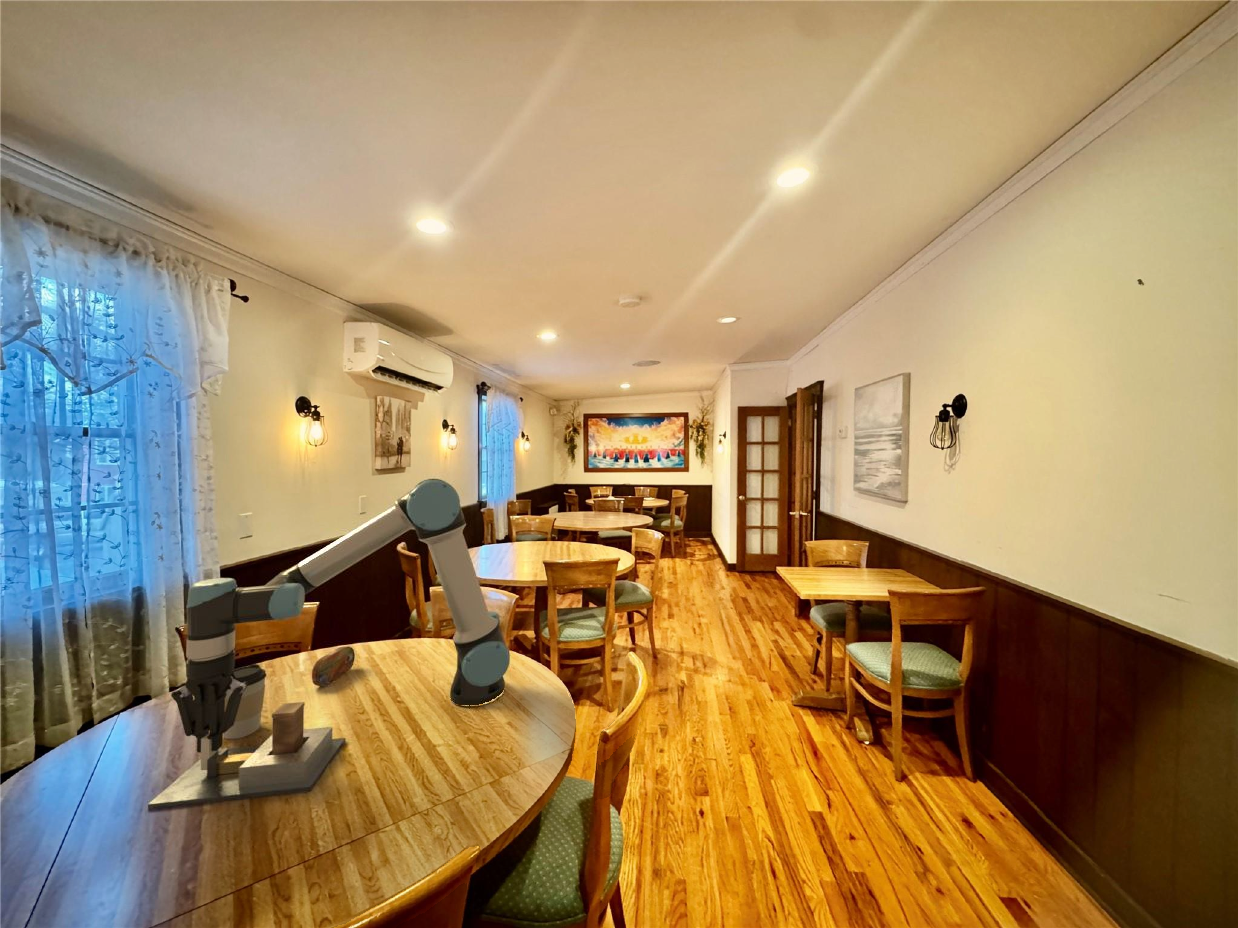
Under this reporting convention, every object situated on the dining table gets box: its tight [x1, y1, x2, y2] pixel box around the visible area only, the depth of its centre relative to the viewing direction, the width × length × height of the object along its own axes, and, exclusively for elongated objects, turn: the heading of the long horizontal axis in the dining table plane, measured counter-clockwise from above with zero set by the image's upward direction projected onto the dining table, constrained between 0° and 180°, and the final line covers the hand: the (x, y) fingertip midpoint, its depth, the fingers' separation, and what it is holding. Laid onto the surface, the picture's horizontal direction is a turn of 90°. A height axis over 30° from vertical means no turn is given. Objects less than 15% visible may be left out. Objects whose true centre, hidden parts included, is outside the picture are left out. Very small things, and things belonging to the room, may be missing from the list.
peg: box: [271, 701, 305, 755], centre depth 95 cm, size 4×4×12 cm
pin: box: [207, 747, 253, 777], centre depth 93 cm, size 11×4×4 cm, turn 100°
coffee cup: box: [223, 663, 267, 740], centre depth 108 cm, size 9×9×15 cm
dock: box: [147, 726, 346, 810], centre depth 93 cm, size 28×16×5 cm, turn 100°
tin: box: [311, 646, 356, 687], centre depth 134 cm, size 15×3×8 cm, turn 174°
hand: (209, 765), depth 92 cm, fingers closed
